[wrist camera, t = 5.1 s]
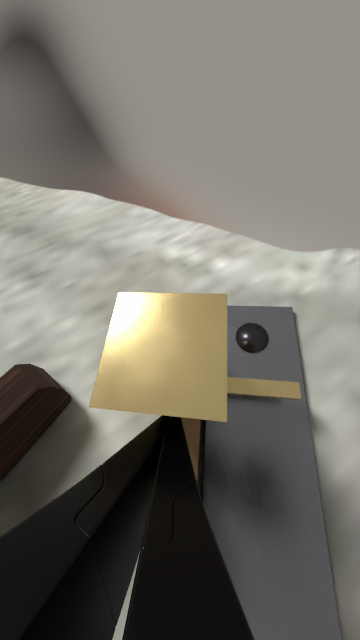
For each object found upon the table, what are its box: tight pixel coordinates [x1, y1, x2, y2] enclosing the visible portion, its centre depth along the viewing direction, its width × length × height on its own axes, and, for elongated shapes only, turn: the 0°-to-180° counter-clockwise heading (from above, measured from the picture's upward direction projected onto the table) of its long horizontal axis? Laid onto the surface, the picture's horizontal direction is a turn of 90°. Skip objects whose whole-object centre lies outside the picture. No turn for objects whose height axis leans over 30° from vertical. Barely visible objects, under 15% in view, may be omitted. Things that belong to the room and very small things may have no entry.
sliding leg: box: [89, 293, 301, 422], centre depth 11 cm, size 4×9×10 cm, turn 84°
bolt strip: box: [203, 306, 342, 640], centre depth 13 cm, size 27×7×1 cm, turn 174°
